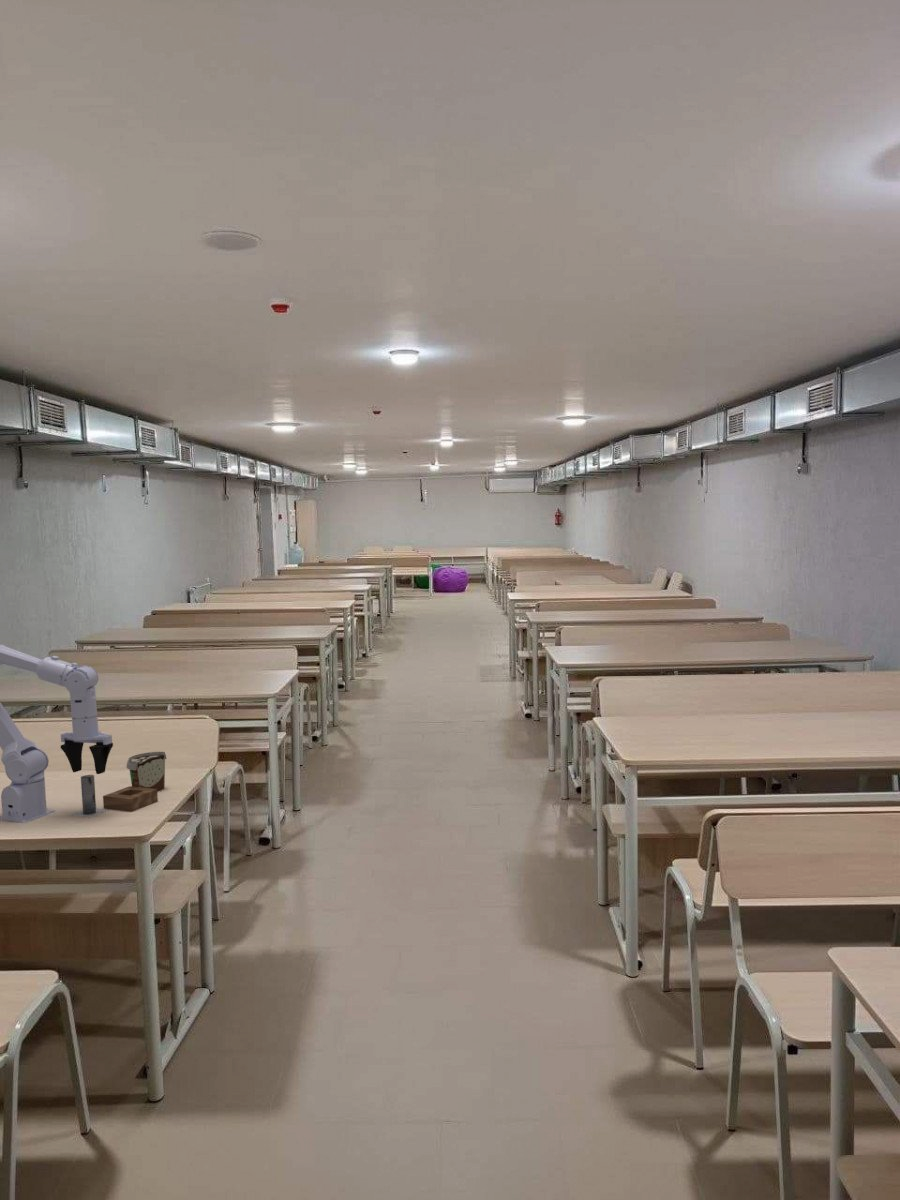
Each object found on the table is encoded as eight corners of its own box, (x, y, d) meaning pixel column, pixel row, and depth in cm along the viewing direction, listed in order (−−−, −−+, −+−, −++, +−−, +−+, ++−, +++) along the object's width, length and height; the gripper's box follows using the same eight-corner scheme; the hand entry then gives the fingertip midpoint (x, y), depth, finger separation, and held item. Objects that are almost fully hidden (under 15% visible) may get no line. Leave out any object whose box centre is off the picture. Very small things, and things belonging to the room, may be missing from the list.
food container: (149, 786, 239) (147, 750, 238) (168, 788, 237) (166, 751, 236) (117, 799, 227) (115, 761, 227) (137, 801, 225) (135, 762, 225)
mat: (89, 819, 211) (89, 817, 211) (70, 816, 214) (70, 815, 214) (108, 811, 217) (108, 810, 217) (90, 809, 219) (89, 808, 219)
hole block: (131, 813, 215) (131, 799, 215) (103, 809, 219) (102, 795, 219) (157, 802, 223) (157, 789, 223) (130, 799, 227) (129, 786, 227)
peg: (89, 815, 213) (87, 778, 213) (80, 814, 214) (77, 777, 214) (99, 811, 216) (96, 775, 215) (89, 810, 217) (87, 774, 217)
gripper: (119, 714, 215) (123, 769, 215) (75, 712, 220) (79, 766, 221) (97, 720, 208) (102, 777, 209) (52, 718, 214) (56, 773, 215)
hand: (88, 772), depth 215 cm, fingers open, 7 cm apart
